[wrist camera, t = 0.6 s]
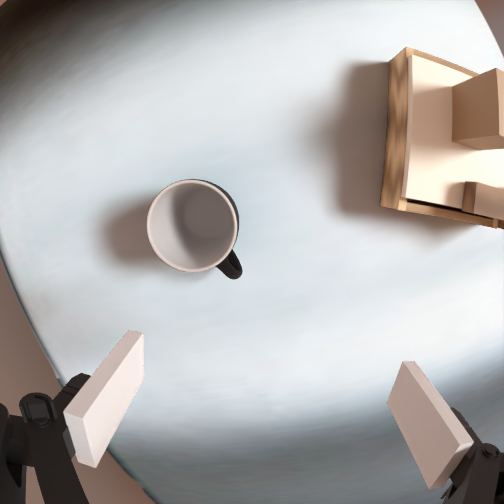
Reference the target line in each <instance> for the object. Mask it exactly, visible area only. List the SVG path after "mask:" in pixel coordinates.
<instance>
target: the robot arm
mask: <svg viewBox="0 0 504 504" xmlns="http://www.w3.org/2000/svg"><path fill="white" fill-rule="evenodd" d="M143 380H144V357H143V333H141V332H136V331H132V330H128V331H127V333H126V334H125V335H124V336H123V337H122V339H121V340H120V341H119V342H118V343H117V345H116V346H115V347H114V348H113V350H112V351H111V352H110V353H109V354H108V356H107V357H106V358H105V359H104V361H103V362H102V363H101V364H100V366H99V367H98V368H97V369H96V371H95V372H94V373H93V374H92V376H90V375H86V374H83V373H80V374H78V375H76V376H75V377H73V378H71V380H70V381H69V382H68V383H67V384H66V386H64V388H63V389H62V390H61V392H59V394H58V395H57V396H56V397H55V398H54V399H53V400H52V399H51V398H50V397H49V396H48V395H46V394H43V393H30V394H27V395H26V396H24V397H23V398H22V399H21V400H20V403H19V407H20V410H21V413H22V416H23V417H21V416H15V415H9V412H8V410H7V408H6V407H5V406H4V405H3V404H1V403H0V504H25V496H26V495H25V494H26V469H27V466H31V467H34V468H35V471H36V475H37V479H38V483H39V486H40V489H41V493H42V496H43V499H44V502H45V504H89V502H88V500H87V498H86V496H85V493H84V491H83V488H82V486H81V484H80V481H79V479H78V476H77V474H76V471H75V469H74V466H73V463H72V461H71V459H72V457H73V456H74V454H76V457H77V459H78V462H80V463H83V464H86V465H88V466H91V467H94V468H96V467H97V465H98V463H99V461H100V459H101V457H102V455H103V453H104V452H105V450H106V448H107V446H108V444H109V442H110V440H111V438H112V437H113V435H114V433H115V431H116V429H117V427H118V425H119V423H120V422H121V420H122V418H123V416H124V414H125V412H126V411H127V409H128V407H129V405H130V403H131V401H132V400H133V398H134V396H135V394H136V392H137V390H138V389H139V387H140V385H141V383H142V381H143ZM387 404H388V406H389V408H390V410H391V412H392V414H393V416H394V418H395V420H396V422H397V424H398V426H399V428H400V430H401V432H402V434H403V436H404V438H405V440H406V442H407V444H408V446H409V448H410V450H411V453H412V455H413V457H414V459H415V461H416V463H417V465H418V467H419V469H420V471H421V473H422V476H423V478H424V480H425V482H426V484H427V486H428V488H429V489H433V488H438V487H442V486H444V484H445V483H446V482H447V480H448V479H449V478H451V480H452V482H453V483H452V484H451V485H450V487H449V488H448V489H447V490H446V492H445V493H444V494H443V495H442V497H441V499H443V498H444V497H445V496H446V497H445V499H444V502H443V504H504V453H501V452H500V451H499V449H498V448H497V447H496V446H494V445H492V444H488V443H484V444H483V443H482V442H481V441H480V439H479V438H478V436H477V435H476V434H475V432H474V431H473V430H472V428H471V427H469V424H468V423H467V421H465V419H464V417H463V416H462V415H461V413H460V412H458V411H457V410H456V409H454V408H453V407H452V408H449V406H448V405H447V403H446V402H445V401H444V399H443V398H442V397H441V395H440V394H439V393H438V391H437V390H436V389H435V387H434V386H433V385H432V383H431V382H430V381H429V379H428V378H427V377H426V375H425V374H424V373H423V371H422V370H421V369H420V368H419V366H418V365H417V364H416V362H415V361H403V362H402V364H401V367H400V370H399V373H398V375H397V378H396V380H395V383H394V386H393V388H392V391H391V393H390V396H389V398H388V400H387Z"/></svg>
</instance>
